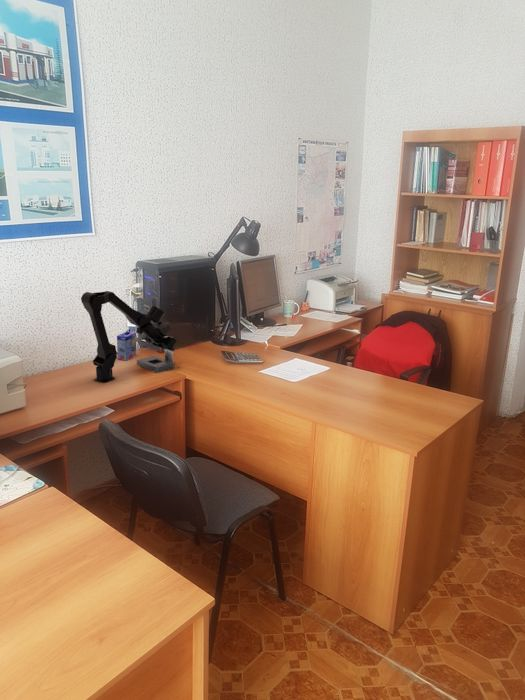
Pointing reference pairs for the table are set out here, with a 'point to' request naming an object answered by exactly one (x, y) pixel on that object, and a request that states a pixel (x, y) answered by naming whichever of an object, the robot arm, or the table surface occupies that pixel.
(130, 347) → the ink cartridge box
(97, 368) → the robot arm
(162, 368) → the jig
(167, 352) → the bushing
